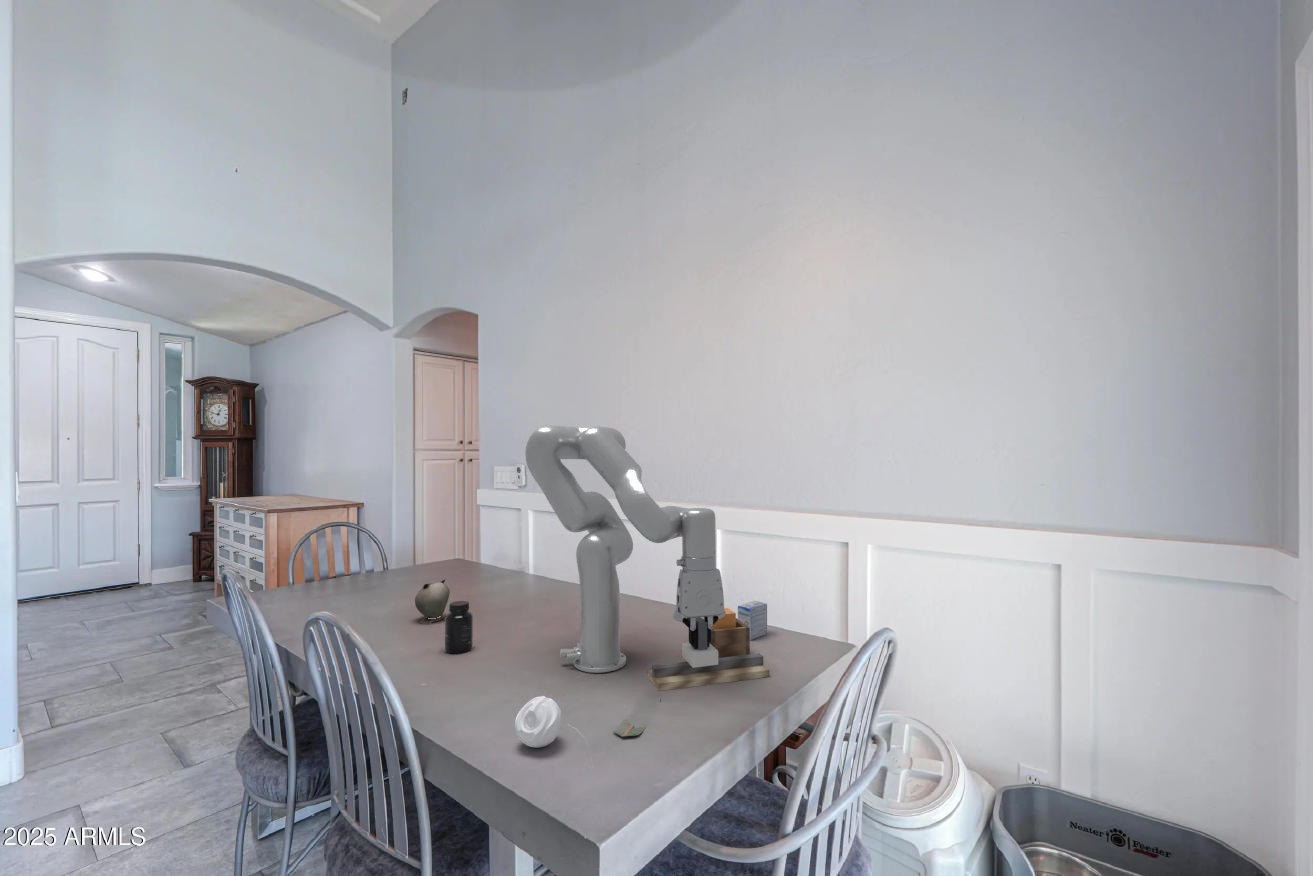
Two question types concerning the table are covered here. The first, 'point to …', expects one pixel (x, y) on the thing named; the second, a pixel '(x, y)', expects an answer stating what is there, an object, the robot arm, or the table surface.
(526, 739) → the white carved ovoid
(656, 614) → the table surface
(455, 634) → the supplement bottle
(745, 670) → the rail base
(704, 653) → the carriage
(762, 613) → the medicine box
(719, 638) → the brown wooden box
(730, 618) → the plunger
